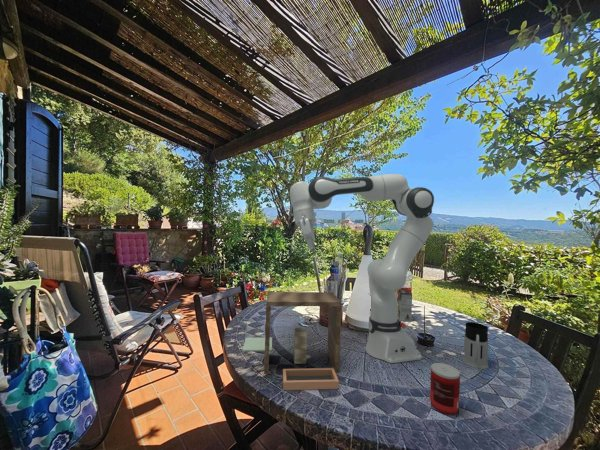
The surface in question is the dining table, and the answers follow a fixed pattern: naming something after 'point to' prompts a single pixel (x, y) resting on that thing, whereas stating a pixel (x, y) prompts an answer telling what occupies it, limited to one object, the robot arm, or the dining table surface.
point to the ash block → (300, 345)
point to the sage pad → (256, 344)
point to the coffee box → (405, 305)
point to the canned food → (445, 388)
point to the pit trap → (310, 379)
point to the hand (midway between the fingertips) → (312, 250)
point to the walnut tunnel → (308, 300)
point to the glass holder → (476, 345)
